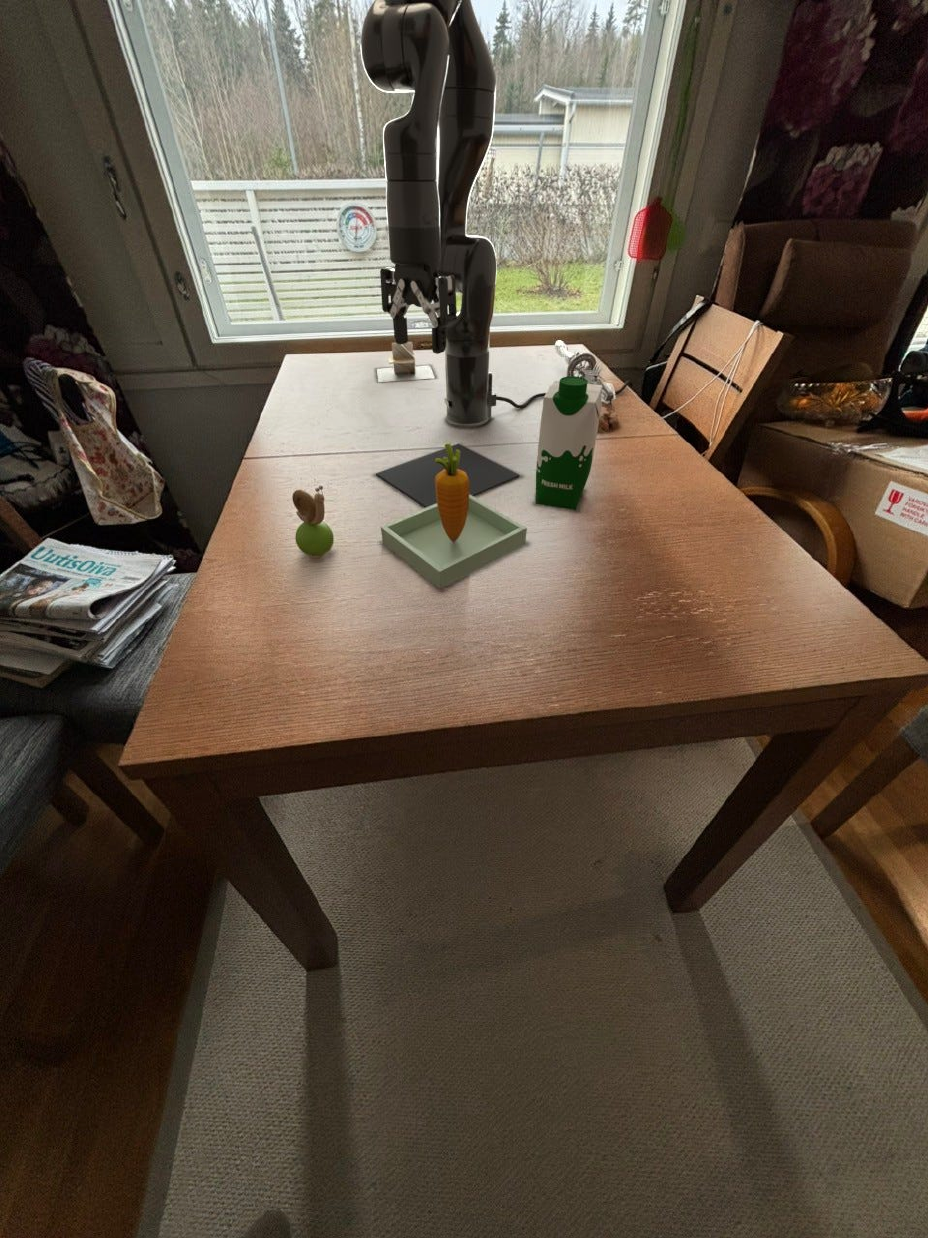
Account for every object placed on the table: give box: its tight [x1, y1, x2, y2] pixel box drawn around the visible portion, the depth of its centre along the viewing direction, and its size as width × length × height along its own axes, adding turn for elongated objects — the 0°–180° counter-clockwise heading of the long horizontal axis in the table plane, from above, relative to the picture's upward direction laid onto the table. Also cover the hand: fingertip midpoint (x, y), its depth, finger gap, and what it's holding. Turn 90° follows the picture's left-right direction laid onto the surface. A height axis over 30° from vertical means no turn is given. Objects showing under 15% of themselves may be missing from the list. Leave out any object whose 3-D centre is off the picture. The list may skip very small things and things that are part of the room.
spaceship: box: [554, 339, 617, 406], centre depth 126 cm, size 8×35×8 cm
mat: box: [375, 443, 520, 508], centre depth 94 cm, size 20×18×1 cm
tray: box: [380, 494, 528, 590], centre depth 77 cm, size 17×15×3 cm
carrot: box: [435, 442, 469, 542], centre depth 72 cm, size 5×5×15 cm
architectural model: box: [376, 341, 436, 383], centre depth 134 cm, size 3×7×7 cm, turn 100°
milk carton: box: [535, 375, 602, 511], centre depth 81 cm, size 9×9×20 cm
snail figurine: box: [291, 485, 335, 557], centre depth 72 cm, size 5×6×12 cm
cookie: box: [598, 405, 619, 432], centre depth 110 cm, size 10×11×3 cm
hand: (419, 347), depth 83 cm, fingers open, 8 cm apart
